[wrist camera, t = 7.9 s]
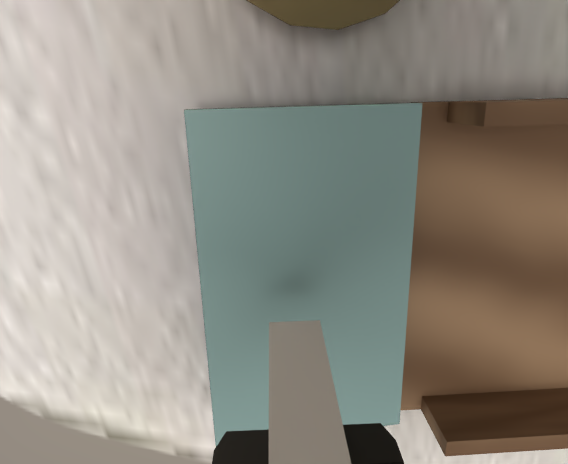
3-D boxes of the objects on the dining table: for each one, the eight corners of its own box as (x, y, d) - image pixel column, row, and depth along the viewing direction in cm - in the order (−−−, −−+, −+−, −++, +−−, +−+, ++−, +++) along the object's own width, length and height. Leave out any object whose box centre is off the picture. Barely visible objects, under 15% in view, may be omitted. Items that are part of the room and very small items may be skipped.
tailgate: (413, 102, 17) (185, 109, 16) (422, 103, 16) (184, 109, 15) (393, 412, 21) (216, 434, 20) (399, 423, 21) (216, 447, 20)
